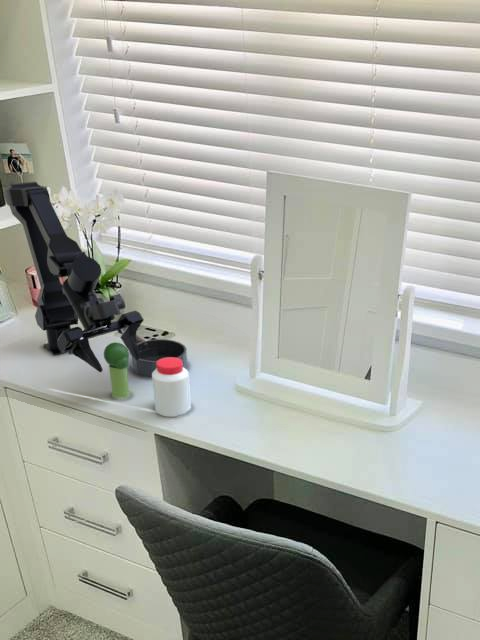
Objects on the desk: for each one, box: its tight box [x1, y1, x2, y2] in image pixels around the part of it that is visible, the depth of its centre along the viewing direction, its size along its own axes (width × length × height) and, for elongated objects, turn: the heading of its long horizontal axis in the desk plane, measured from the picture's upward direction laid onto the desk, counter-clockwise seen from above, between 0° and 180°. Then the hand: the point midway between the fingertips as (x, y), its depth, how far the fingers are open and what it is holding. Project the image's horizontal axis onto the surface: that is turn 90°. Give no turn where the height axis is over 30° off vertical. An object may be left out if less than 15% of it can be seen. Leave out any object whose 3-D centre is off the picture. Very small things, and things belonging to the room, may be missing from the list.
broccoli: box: [103, 342, 131, 399], centre depth 171 cm, size 6×5×13 cm
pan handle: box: [136, 334, 148, 348], centre depth 191 cm, size 8×2×2 cm, turn 43°
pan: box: [129, 338, 189, 379], centre depth 186 cm, size 13×13×4 cm
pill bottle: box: [151, 357, 192, 418], centre depth 168 cm, size 8×8×11 cm
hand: (120, 365), depth 170 cm, fingers open, 9 cm apart
